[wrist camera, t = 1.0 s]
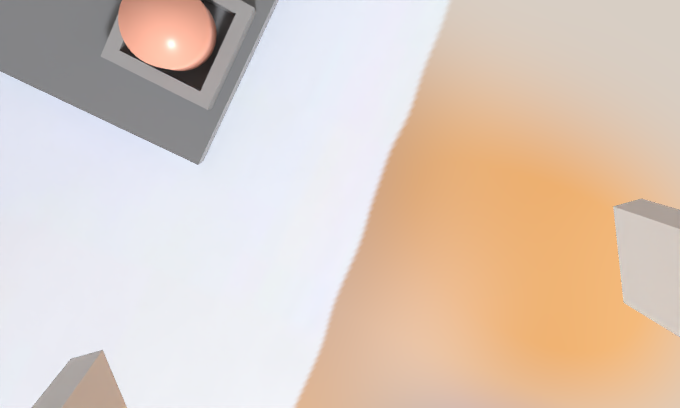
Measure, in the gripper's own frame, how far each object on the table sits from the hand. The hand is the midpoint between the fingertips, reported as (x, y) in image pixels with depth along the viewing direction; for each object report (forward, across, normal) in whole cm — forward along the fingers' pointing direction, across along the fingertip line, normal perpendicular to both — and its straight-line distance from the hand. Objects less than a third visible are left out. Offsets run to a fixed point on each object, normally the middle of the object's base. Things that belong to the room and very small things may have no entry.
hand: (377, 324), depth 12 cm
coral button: (+19, -6, +11) cm, 23 cm away
